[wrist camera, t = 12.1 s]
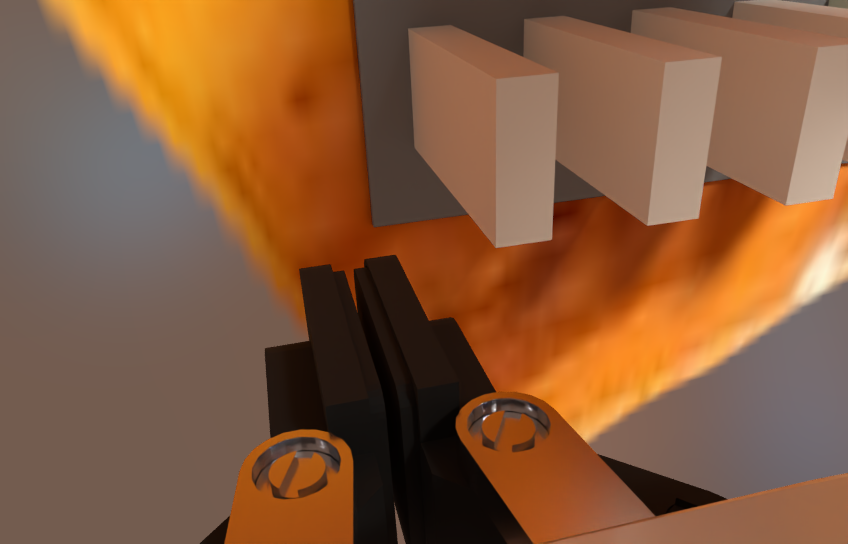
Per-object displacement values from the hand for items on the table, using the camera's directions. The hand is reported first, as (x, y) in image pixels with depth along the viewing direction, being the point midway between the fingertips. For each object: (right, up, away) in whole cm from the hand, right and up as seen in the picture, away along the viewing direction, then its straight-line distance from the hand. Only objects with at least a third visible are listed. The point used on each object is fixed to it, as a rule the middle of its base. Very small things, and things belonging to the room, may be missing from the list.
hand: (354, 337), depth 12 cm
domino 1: (+2, +9, +17) cm, 19 cm away
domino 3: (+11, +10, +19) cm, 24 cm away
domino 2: (+6, +10, +18) cm, 21 cm away
